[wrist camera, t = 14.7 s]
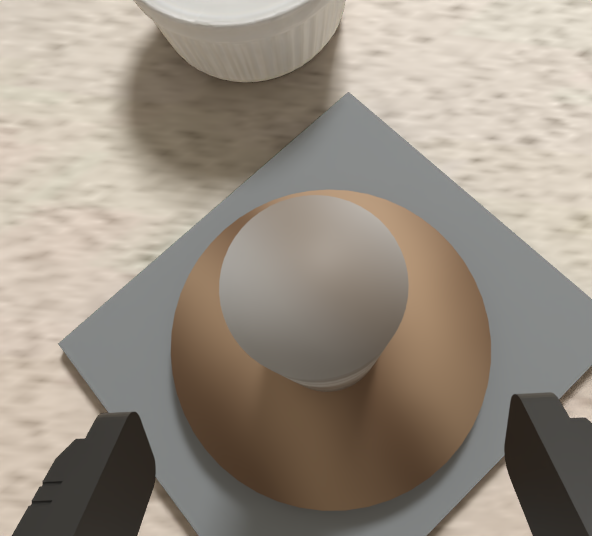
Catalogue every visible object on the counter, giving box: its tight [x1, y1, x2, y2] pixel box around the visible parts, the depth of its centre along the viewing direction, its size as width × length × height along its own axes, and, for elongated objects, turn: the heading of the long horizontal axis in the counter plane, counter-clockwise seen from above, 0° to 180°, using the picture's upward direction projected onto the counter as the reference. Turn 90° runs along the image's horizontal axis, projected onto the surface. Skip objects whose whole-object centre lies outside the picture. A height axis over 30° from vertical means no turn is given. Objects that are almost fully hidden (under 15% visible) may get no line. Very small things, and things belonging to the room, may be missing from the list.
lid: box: [171, 190, 491, 511], centre depth 16 cm, size 13×13×10 cm
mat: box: [58, 92, 592, 536], centre depth 21 cm, size 18×16×1 cm
